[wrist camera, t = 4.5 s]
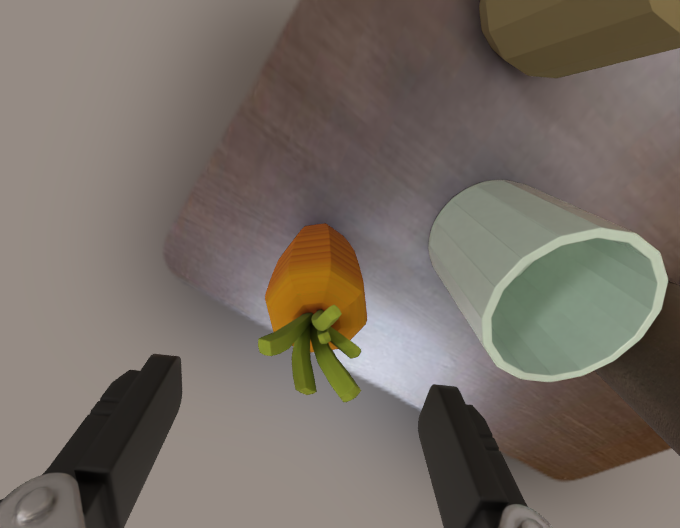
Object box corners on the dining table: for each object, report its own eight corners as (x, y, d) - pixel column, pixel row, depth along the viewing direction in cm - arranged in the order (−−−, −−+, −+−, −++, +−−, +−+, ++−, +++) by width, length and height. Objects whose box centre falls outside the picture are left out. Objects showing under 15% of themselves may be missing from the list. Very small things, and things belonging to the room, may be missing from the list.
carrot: (272, 219, 25) (210, 367, 11) (332, 185, 24) (342, 301, 10) (308, 272, 27) (293, 451, 13) (365, 242, 26) (410, 402, 12)
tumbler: (414, 282, 28) (458, 373, 19) (449, 169, 24) (525, 214, 15) (518, 296, 29) (608, 388, 20) (567, 190, 25) (707, 245, 16)
